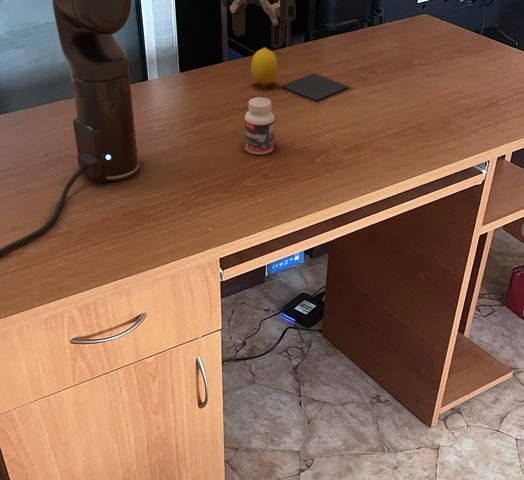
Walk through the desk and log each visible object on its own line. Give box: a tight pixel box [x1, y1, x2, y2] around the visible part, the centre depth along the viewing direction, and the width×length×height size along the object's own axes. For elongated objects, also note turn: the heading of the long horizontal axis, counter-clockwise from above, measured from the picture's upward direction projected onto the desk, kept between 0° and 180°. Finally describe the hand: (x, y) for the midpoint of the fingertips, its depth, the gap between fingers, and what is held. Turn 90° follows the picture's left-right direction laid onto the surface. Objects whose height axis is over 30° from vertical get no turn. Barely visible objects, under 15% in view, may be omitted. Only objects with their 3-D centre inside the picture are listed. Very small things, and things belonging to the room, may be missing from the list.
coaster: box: [280, 73, 350, 103], centre depth 164 cm, size 10×10×1 cm
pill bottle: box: [244, 96, 275, 155], centre depth 140 cm, size 5×5×9 cm
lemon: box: [250, 47, 279, 87], centre depth 162 cm, size 6×6×8 cm
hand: (258, 40), depth 133 cm, fingers open, 8 cm apart
